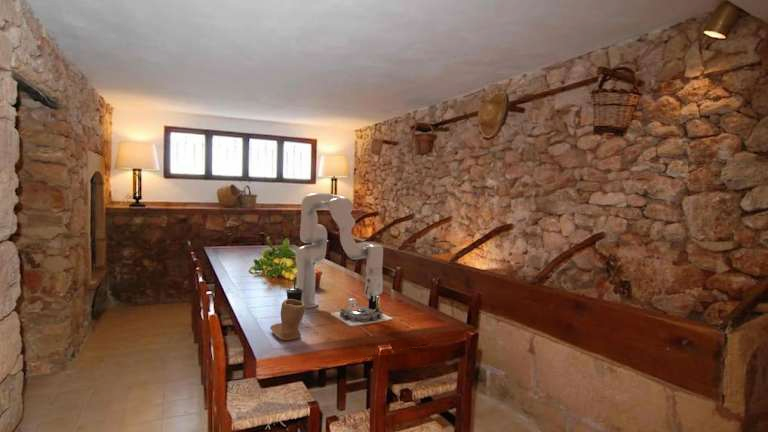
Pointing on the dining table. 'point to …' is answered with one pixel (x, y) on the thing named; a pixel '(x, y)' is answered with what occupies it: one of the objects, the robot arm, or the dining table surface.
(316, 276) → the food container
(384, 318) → the board
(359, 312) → the sprocket
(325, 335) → the dining table surface
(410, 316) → the dining table surface
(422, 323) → the dining table surface
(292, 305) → the brown boot
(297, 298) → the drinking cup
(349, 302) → the roller
